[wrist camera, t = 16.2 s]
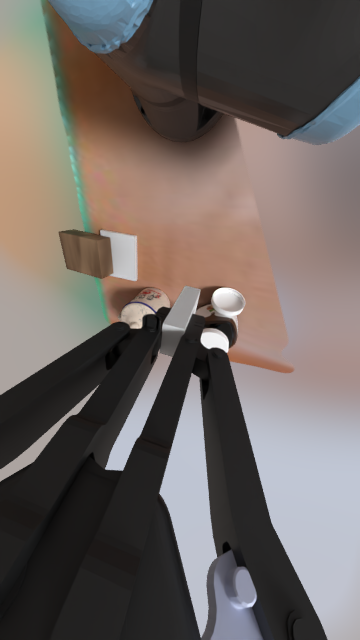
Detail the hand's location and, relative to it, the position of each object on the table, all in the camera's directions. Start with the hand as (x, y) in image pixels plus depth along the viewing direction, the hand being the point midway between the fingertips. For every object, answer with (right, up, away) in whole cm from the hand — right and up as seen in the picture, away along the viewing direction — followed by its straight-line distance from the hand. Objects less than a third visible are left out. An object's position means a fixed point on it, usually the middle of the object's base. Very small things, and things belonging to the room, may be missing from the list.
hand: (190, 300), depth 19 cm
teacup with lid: (-9, +2, +31) cm, 33 cm away
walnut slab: (-17, +11, +24) cm, 31 cm away
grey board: (-15, +13, +26) cm, 32 cm away
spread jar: (+8, +1, +27) cm, 29 cm away
